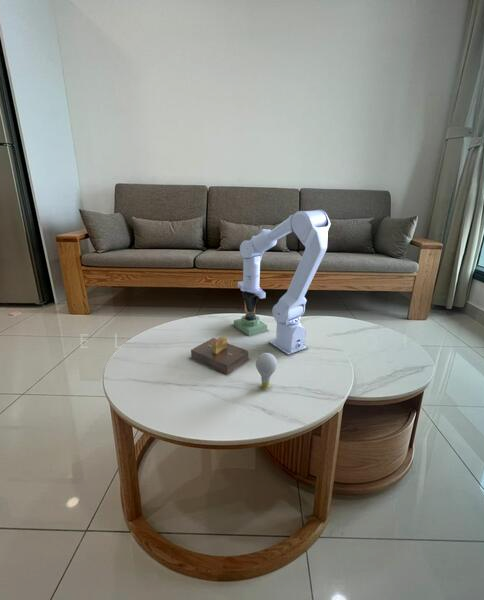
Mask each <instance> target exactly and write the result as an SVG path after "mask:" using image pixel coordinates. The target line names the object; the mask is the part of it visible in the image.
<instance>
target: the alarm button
mask: <svg viewBox="0 0 484 600" xmlns="http://www.w3.org/2000/svg"><path fill="white" fill-rule="evenodd" d="M245 315H246V320H249V321H253V320H255V315H256V313H254V312H247V313H245Z"/></svg>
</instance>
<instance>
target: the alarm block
mask: <svg viewBox="0 0 484 600" xmlns="http://www.w3.org/2000/svg"><path fill="white" fill-rule="evenodd" d="M233 326H234V327H235V328H237V330H239V331H241V332H243V333H244V334H245V335H246V336H248V337H249V336H254V335H257V334H260V333H263V332H266V331H268V325H267V323H265V322H263V321H262V320H261V319H260V317H259V316H258V315H257V314H255V320H253V321H249V320H246V314H245V315H242V316H241V318H237V319H234V320H233Z"/></svg>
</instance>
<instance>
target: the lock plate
mask: <svg viewBox="0 0 484 600" xmlns="http://www.w3.org/2000/svg"><path fill="white" fill-rule="evenodd" d="M216 339H217V338H216V337H212V338H210V339H208V340H206V341H205V342H203V343H201V344H199V345H197V346H196V347H194V348H191V349H190V353H191V354H190V356H191V359H192V360H193V361H196V362H198V363H201V364H203V365H205V366H207V367H209V368H212V369H214V370H217V371H218V372H221V373H223V374H225V375H228V374H230V373H232V372H233V371H234V370H235V369H237V368H238V367H240V366H241V365H242V364H244V363H245V362H247V361H248V360H249V350H247V349H244V348H242V347H239V346H236V345H234V344H231V343H229V342H227V348H226V349H224V350H222V351H221V352H219V353H217V354H214V353H212V342H213V341H214V340H216Z"/></svg>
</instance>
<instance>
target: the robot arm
mask: <svg viewBox="0 0 484 600" xmlns="http://www.w3.org/2000/svg"><path fill="white" fill-rule="evenodd" d="M330 227H331V221H330V218H329V216H328V214H327V212H326V211H325V210H322V209H315V210H298V211H296V212H295V213H294V214H291V215H289V217H287V218H286V219H285V220H283V221H282V222H281V223H279V224H278V225H276V226H275V227H274V228H273V229H267V228H263V229H261V230H260V231H259V232H260V233H258V234H257V235H253V236H252V237H251V239H250V240H247V239H246V240H243V241H242V242H241V243H240V245H239V252H240V255H241V257H242V258H243V260H242V261H243V263H242V265H243V266H242V281H238V282H237V288H238V289H240V291H242V292H241V293H240V294H241V296H242V298H243V301H244V304H245V308H246V312H247V313H254V311H255V308H256V305H257V304H258V303H257V302H258V301H259V299H261V300H262V299H266V292H265V291H264V290H263V289H262V288H261V287H260V280H261V279H260V277H261V276H260V275H261V261H262V257H263V255H264V253H265V252H266V251H268V250H270V249H272V248H273V247H275V246H276V245H277V243H278V240H279V239H282V238H283V237H286V235H289V234H291V233H293V232H294V234H295V235H296V236H297V238H298V240H299V241H300V242H301V244H302V245H303V246H304V248H305V249H304V252H303V254H302V256H301V258H300V261H299V263H298V265H297V266H296V267H297V268H296V270H295V272H294V274H293V277H292V279H291V282H290V284H289V286H288V288H287V291H286V292H285V293H284V294H283V295H282V296H281V297H280V298H279V300H278V302H277V303H276V304H274V305H273V307H272V311H271V312H272V313H271V314H272V317H273V319H274V320H275V323H276V329H275V330H276V331H275V332H276V333H275V339H273V340H270V341H269V343H270V344H271V345H273V346H274V347H276V348H277V349H279V350H280V351H281V352H283V353H285V354H286V355H291V354H294V353H297V352H299V351H302V350H305V349H307V346H306V334H307V331H306V328H305V327H304V326H303V325H302V324H301V322H300V320H301V319H302V318H301V317H302V316H303V315H304V314H305V311H306V304H307V301H308V300H307V298H306V294H307V292H308V290H309V287H310V286H311V284H312V281H313V279H314V277H315V275H316V273H317V271H318V268H319V266H320V264H321V262H322V260H323V258H324V256H325V253H326V252H327V250H328V237H329V235H328V233H329V229H330Z"/></svg>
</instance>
